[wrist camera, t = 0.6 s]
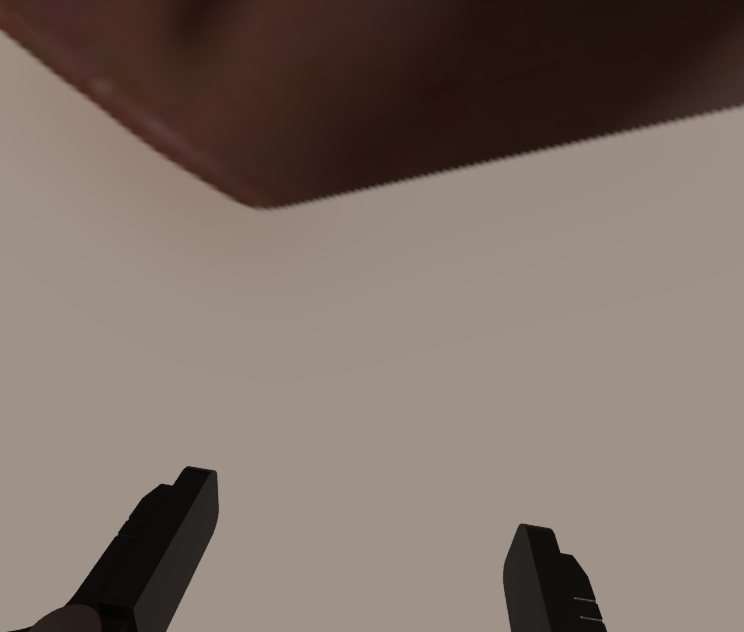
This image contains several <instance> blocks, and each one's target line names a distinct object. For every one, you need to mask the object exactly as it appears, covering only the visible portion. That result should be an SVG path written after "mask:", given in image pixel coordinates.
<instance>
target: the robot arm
mask: <svg viewBox="0 0 744 632" xmlns="http://www.w3.org/2000/svg"><path fill="white" fill-rule="evenodd" d="M218 513H219V504H218V483H217V472H216V471H214V470H208V469H202V468H197V467H191V466H187V467H186V468H184V470H183V471H182V472H181V474H180V475H179V477H178V478H177V480H176V481H175V483H174V485H173V486H172V485H166V484H160V485H159V486H158V487H156V488H155V489H154V490H152V491H151V492H150V493H149V494H147V495H146V496H145V497H143V498H142V499H141V501H140V502H139V504H138V505H137V507H136V508H135V509H134V511H133V512H132V514H131V515H130V516H129V520H128V521H126V522H125V524H124V525H123V526H122V528H121V529H120V531H119V532H118V536H116V537H115V538H114V539H113V541H112V542H111V544H110V545H109V546H108V548H107V549H106V551H105V552H104V553H103V555H102V556H101V558H100V559H99V560H98V562H97V563H96V565H95V566H94V568H93V569H92V570H91V572H90V574H89V575H88V576H87V578H86V579H85V580H84V582H83V583H82V585H81V586H80V588H79V589H78V590H77V592H76V593H75V594H74V596H73V597H72V598H71V600H70V601H69V602H68V603H67V604H66V605H65V606H64V607H62V608H59V609H57V610H55V611H52V612H51V613H49V614H48V615H46V616H44V617H43V618H42V619H40V620H39V621H38V622H37V623H35V625H33V626H31V627H28V628H25V629H20V630H16V631H9V632H166V630H167V628H168V626H169V624H170V622H171V620H172V618H173V616H174V614H175V612H176V610H177V608H178V605H179V603H180V601H181V599H182V597H183V595H184V593H185V591H186V589H187V587H188V585H189V583H190V581H191V579H192V576H193V574H194V572H195V570H196V568H197V566H198V564H199V562H200V560H201V558H202V556H203V554H204V552H205V550H206V548H207V545H208V543H209V541H210V539H211V537H212V535H213V533H214V530H215V527H216V524H217V519H218ZM503 584H504V591H505V597H506V603H507V609H508V615H509V621H510V627H511V632H607V630H606V627H605V625H604V624H603V622H602V616H601V613H600V610H599V607H598V604H596V601H595V600H596V599H595V596H594V593H593V590H592V587H591V584H590V581H589V578H588V576H587V575H586V573H585V572H584V571H583V569H582V568H581V566H580V565H579V564H578V562H577V561H576V559H575V558H574V557H573V556H572V555H568V554H563V553H560V550H559V547H558V543H557V540H556V537H555V534H554V532H553V530H552V529H550V528H545V527H539V526H534V525H528V524H520V525H519V526H518V528H517V531H516V534H515V536H514V539H513V541H512V544H511V547H510V549H509V552H508V554H507V557H506V560H505V563H504V570H503Z"/></svg>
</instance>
